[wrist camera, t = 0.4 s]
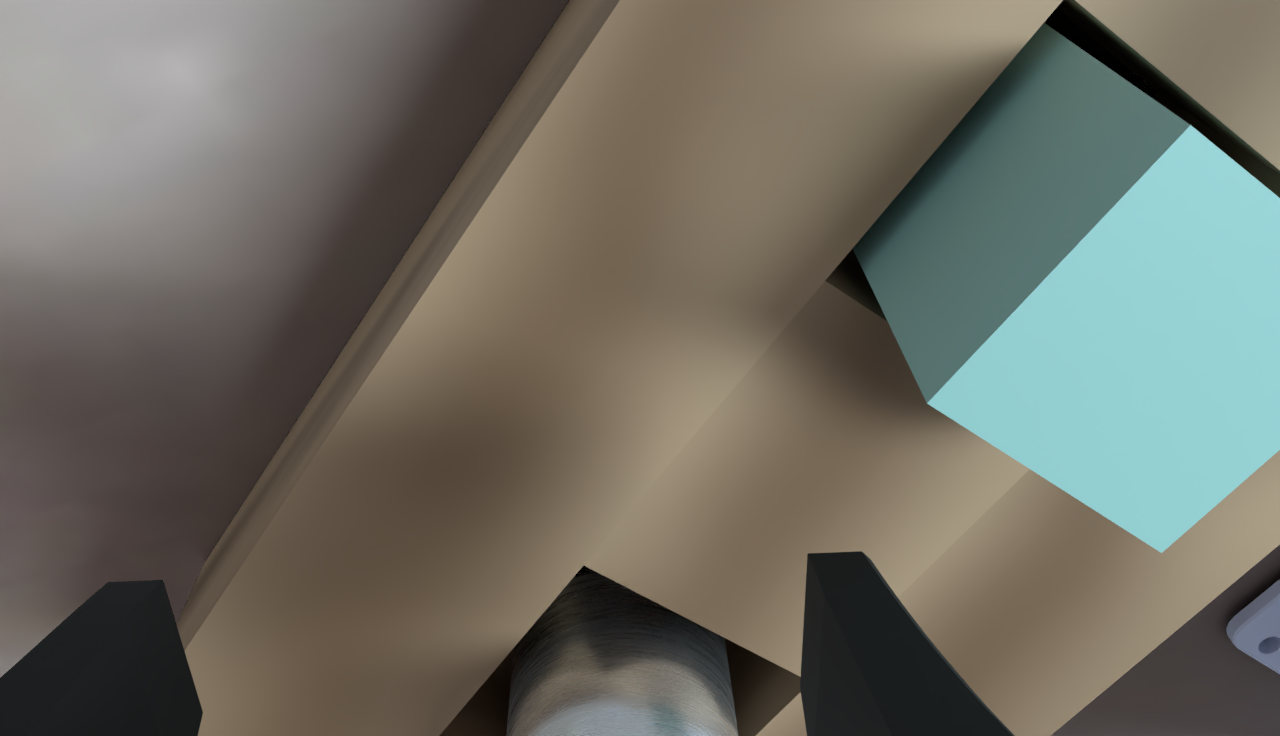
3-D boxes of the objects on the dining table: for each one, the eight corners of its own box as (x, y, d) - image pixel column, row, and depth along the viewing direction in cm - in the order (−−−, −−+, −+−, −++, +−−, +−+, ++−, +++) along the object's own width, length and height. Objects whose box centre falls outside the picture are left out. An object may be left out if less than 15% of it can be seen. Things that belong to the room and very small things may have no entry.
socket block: (1462, 93, 20) (1695, 198, 16) (721, 800, 29) (744, 991, 25) (868, -462, 16) (970, -524, 12) (204, 562, 25) (121, 744, 20)
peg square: (1218, 165, 17) (1428, 319, 13) (1030, 358, 19) (1161, 552, 14) (1028, 11, 16) (1190, 124, 12) (844, 231, 18) (927, 403, 13)
